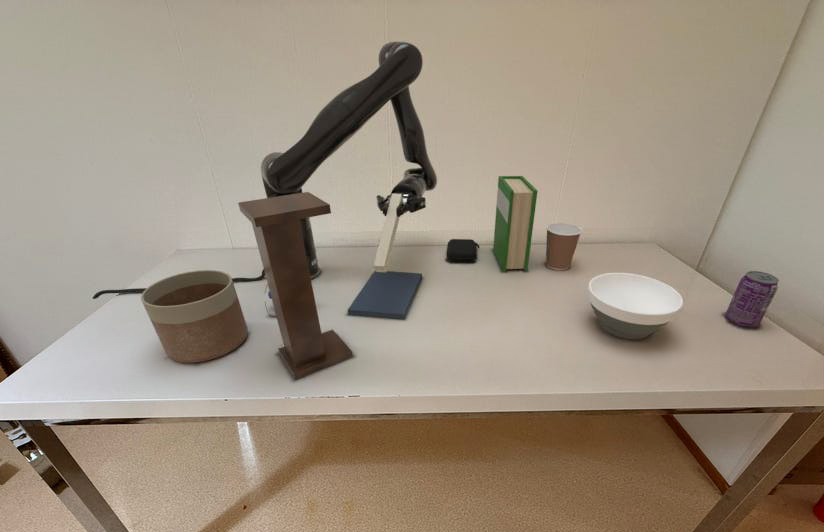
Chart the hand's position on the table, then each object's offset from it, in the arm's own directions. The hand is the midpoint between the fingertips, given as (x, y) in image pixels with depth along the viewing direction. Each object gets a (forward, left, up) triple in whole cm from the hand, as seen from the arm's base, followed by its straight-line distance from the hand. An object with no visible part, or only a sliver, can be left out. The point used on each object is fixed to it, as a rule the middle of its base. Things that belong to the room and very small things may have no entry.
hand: (391, 212), depth 94 cm
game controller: (-24, -12, -22) cm, 35 cm away
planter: (-35, -28, -22) cm, 50 cm away
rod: (0, -2, -5) cm, 5 cm away
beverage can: (+86, -1, -22) cm, 89 cm away
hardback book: (+30, +27, -22) cm, 46 cm away
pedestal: (-10, -29, -22) cm, 38 cm away
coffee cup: (+45, +25, -22) cm, 56 cm away
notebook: (-2, -2, -22) cm, 22 cm away
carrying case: (+15, +29, -22) cm, 39 cm away
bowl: (+57, -8, -22) cm, 62 cm away
